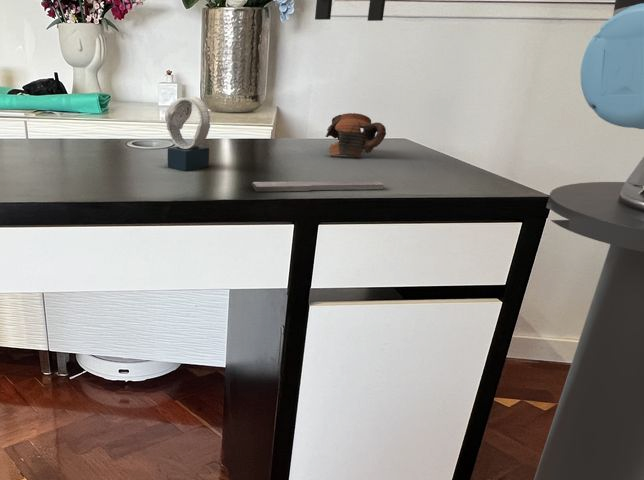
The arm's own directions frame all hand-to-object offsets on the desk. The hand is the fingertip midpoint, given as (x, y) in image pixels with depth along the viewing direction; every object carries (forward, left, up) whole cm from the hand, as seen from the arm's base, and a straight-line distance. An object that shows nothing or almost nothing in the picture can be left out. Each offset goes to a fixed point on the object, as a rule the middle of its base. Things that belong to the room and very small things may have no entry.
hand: (349, 20), depth 108 cm
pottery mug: (-2, -3, -23) cm, 23 cm away
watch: (+6, +30, -23) cm, 38 cm away
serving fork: (-18, +24, -22) cm, 37 cm away
